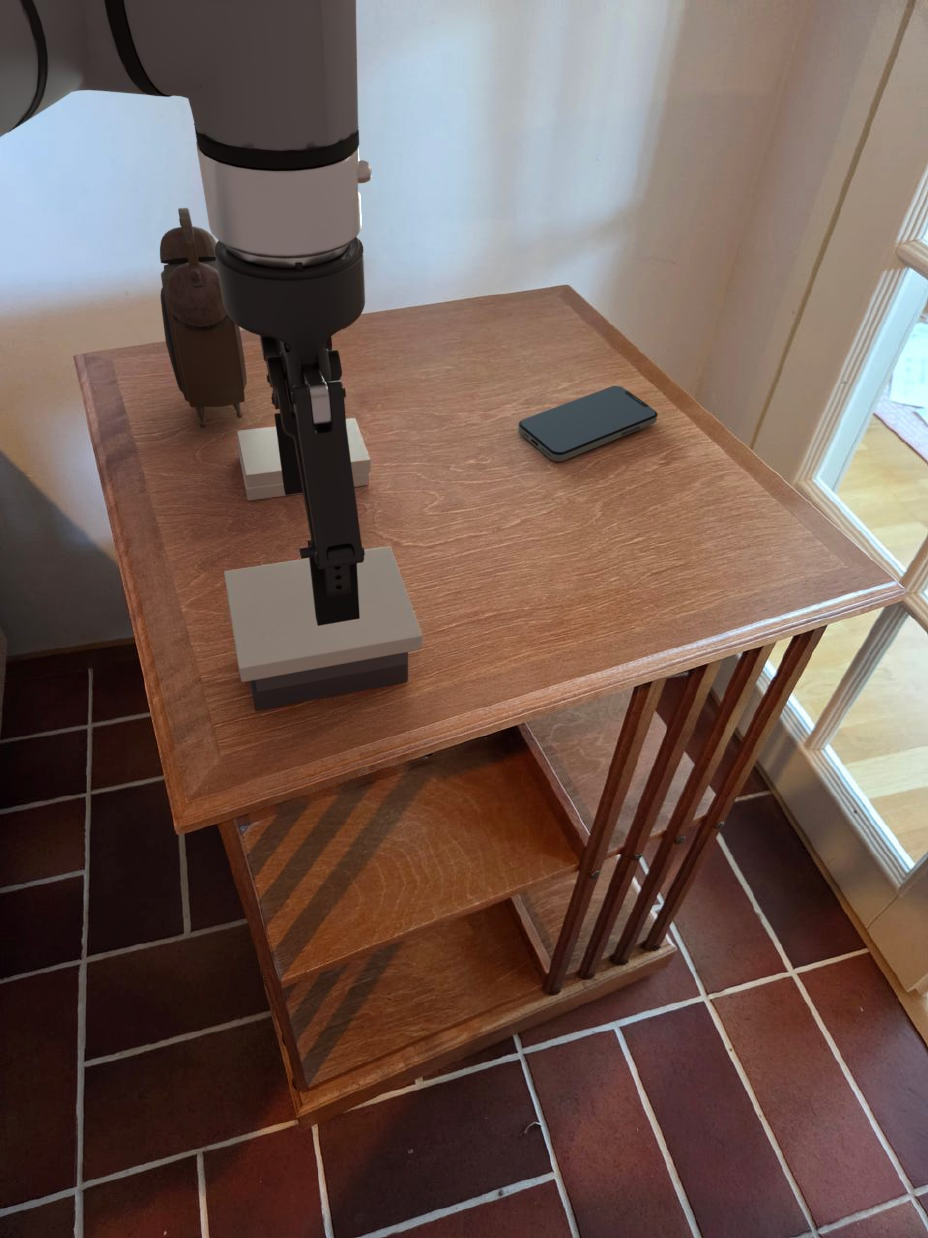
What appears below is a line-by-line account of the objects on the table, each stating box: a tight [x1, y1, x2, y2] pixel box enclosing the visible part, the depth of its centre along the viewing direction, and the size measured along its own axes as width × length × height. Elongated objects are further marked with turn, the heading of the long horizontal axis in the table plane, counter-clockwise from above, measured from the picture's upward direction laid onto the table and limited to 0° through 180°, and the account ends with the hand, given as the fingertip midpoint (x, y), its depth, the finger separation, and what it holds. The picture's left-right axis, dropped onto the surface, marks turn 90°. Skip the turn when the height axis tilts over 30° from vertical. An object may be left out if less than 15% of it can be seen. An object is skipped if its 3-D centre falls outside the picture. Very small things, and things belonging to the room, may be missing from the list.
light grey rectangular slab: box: [223, 545, 424, 683], centre depth 62 cm, size 13×10×2 cm
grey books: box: [249, 652, 409, 712], centre depth 65 cm, size 12×6×6 cm, turn 107°
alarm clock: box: [159, 207, 248, 429], centre depth 84 cm, size 14×7×20 cm, turn 17°
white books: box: [236, 417, 372, 501], centre depth 83 cm, size 12×8×3 cm, turn 107°
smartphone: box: [517, 385, 659, 462], centre depth 92 cm, size 8×2×15 cm
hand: (319, 549), depth 58 cm, fingers open, 13 cm apart
